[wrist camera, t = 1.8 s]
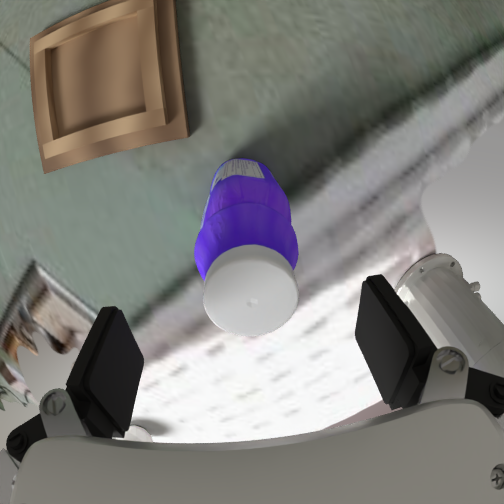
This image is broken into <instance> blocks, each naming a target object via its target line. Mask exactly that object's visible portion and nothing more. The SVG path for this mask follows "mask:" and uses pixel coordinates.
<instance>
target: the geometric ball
mask: <svg viewBox="0 0 504 504" xmlns="http://www.w3.org/2000/svg"><path fill="white" fill-rule="evenodd" d="M116 439H118V440H128V441H140V442H153V440H152V436H151V435H150V434H149V433H148V432H147V431H146V430H145V429H144V428H141V427H138V426H136V425H133V426H130V427H129V430H128V431H127V432H125V436H124V438H117V437H116Z"/></svg>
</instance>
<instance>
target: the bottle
mask: <svg viewBox="0 0 504 504" xmlns="http://www.w3.org/2000/svg"><path fill="white" fill-rule="evenodd" d="M194 256H195V261H196V264H197V268H198V270H199V272H200V274H201V276H202V278H203V280H204V281H205V282H204V293H203V303H204V307H205V310H206V312H207V314H208V316H209V318H210V319H211V320H212V322H213V323H214V324H215V325H217V326H218V327H220V328H221V329H222V330H224V331H226V332H229V333H232V334H235V335H239V336H259V335H264V334H267V333H270V332H273V331H275V330H276V329H278V328H280V327H281V326H283V325H284V324H285V323H286V322H287V321H288V320H289V319H290V318H291V317H292V315H293V314H294V312H295V310H296V308H297V305H298V301H299V290H298V285H297V282H296V279H295V275H294V271H293V270H294V268H295V266H296V263H297V259H298V244H297V238H296V234H295V231H294V229H293V227H292V225H291V213H290V206H289V202H288V199H287V196H286V195H285V193H284V191H283V190H282V189H281V187H280V186H279V184H278V183H277V181H276V180H275V178H274V176H273V175H272V173H271V172H270V170H269V169H268V168H267V167H266V166H265V165H264V164H262V163H260V162H256V161H255V160H251V159H245V158H241V159H231V160H228V161H226V162H224V163H223V164H222V165H221V166H220V167H219V168H218V170H217V172H216V173H215V176H214V178H213V181H212V185H211V190H210V195H209V197H208V199H207V202H206V205H205V208H204V212H203V216H202V222H201V228H200V232H199V234H198V237H197V240H196V243H195V252H194Z"/></svg>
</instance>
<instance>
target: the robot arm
mask: <svg viewBox="0 0 504 504" xmlns="http://www.w3.org/2000/svg"><path fill="white" fill-rule="evenodd" d="M479 289H480V284H479V282H474V283H471V284H469V283H468V282H467V281H466V280H465V279H464V278H463V272H462V268H461V266H460V264H459V262H458V261H457V260H456V259H454V258H453V257H452V256H450V255H448V254H442V253H439V254H433V255H430V256H428V257H426V258H424V259H422V260H420V261H419V262H417V263H416V264H415V265H414V266H412V267H411V268H410V269H409V270H408V271H407V272H406V273H405V275H404V276H403V277H402V279H401V280H400V281H399V283H398V285H397V286H396V288H395V290H394V289H393V288H392V286H391V285H390V284H389V283H388V281H387V280H386V279H385V277H384V276H383V275H381V274H379V275H373V276H368V277H367V278H366V281H363V283H362V289H361V297H360V304H359V310H358V317H357V323H356V329H355V338H356V341H357V343H358V345H359V347H360V349H361V351H362V354H363V356H364V358H365V360H366V362H367V364H368V367H369V369H370V371H371V373H372V376H373V378H374V380H375V382H376V385H377V387H378V389H379V391H380V394H381V396H382V398H383V401H384V403H385V404H389V405H390V408H391V410H394V409H397V408H400V407H402V408H403V409H401V410H398V411H395V412H392V413H389V414H385V415H382V416H378V417H375V418H371V419H367V420H363V421H359V422H356V423H352V424H348V425H344V426H339V427H335V428H331V429H326V430H321V431H316V432H310V433H305V434H299V435H292V436H286V437H279V438H271V439H262V440H252V441H241V442H225V443H155V442H140V441H128V440H118V439H112V437H117V438H124V436H125V432H127V431H128V430H129V427H130V422H131V417H132V413H133V408H134V404H135V399H136V395H137V390H138V386H139V382H140V378H141V374H142V370H143V366H144V358H143V355H142V353H141V351H140V349H139V347H138V345H137V343H136V341H135V339H134V336H133V334H132V332H131V330H130V328H129V326H128V323H127V321H126V319H125V317H124V314H123V312H122V311H121V310H118V308H117V307H116V306H111V307H102V308H101V310H100V312H99V314H98V316H97V318H96V320H95V322H94V324H93V326H92V328H91V330H90V332H89V334H88V336H87V338H86V340H85V342H84V344H83V346H82V349H81V351H80V353H79V355H78V357H77V359H76V362H75V364H74V366H73V368H72V371H71V373H70V376H69V378H68V380H67V383H66V385H67V388H66V390H64V389H60V388H58V389H53V390H50V391H49V392H48V393H46V394H45V395H44V397H42V399H41V401H40V405H39V410H40V414H38V415H37V416H35V417H33V418H32V419H30V420H29V421H27V422H25V423H24V424H22V425H20V426H19V427H17V428H16V429H14V430H13V431H12V432H11V433H10V434H9V436H8V438H7V443H6V446H7V450H5V449H2V450H1V451H0V504H504V325H503V323H502V322H501V321H500V320H499V319H498V318H497V317H496V316H495V314H494V313H493V312H492V311H491V310H490V309H489V308H488V307H487V306H486V305H485V304H484V303H483V302H482V300H481V296H480V294H479V293H474V292H475V291H479Z"/></svg>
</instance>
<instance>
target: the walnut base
mask: <svg viewBox="0 0 504 504" xmlns="http://www.w3.org/2000/svg"><path fill="white" fill-rule="evenodd" d="M30 76H31V91H32V103H33V112H34V120H35V127H36V134H37V140H38V146H39V151H40V156H41V161H42V166H43V171H44V174H46V173H49V172H52V171H55V170H58V169H61V168H64V167H67V166H70V165H73V164H77V163H80V162H83V161H87V160H90V159H94V158H97V157H101V156H105V155H108V154H112V153H116V152H120V151H124V150H129V149H133V148H137V147H142V146H146V145H151V144H156V143H161V142H166V141H171V140H176V139H182V138H188V137H190V130H189V123H188V116H187V108H186V100H185V92H184V84H183V75H182V66H181V56H180V47H179V36H178V25H177V13H176V0H110V1H107V2H104V3H102V4H99V5H96V6H94V7H92V8H89V9H87V10H84V11H82V12H80V13H78V14H76V15H73V16H71V17H69V18H67V19H65V20H63V21H61V22H59V23H57V24H55V25H53V26H51V27H49V28H48V29H46V30H44V31H42V32H40V33H39V34H37V35H35V36H34V37H32V38H30Z"/></svg>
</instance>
